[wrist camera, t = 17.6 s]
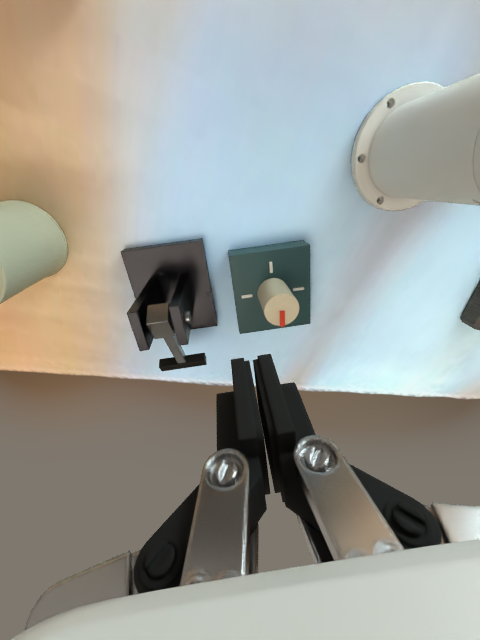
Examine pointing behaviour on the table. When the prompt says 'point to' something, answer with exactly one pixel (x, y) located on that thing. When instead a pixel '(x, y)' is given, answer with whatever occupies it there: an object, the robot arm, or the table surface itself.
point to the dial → (277, 302)
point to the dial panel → (265, 264)
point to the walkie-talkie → (473, 310)
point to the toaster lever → (170, 339)
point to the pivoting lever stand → (170, 287)
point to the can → (28, 247)
